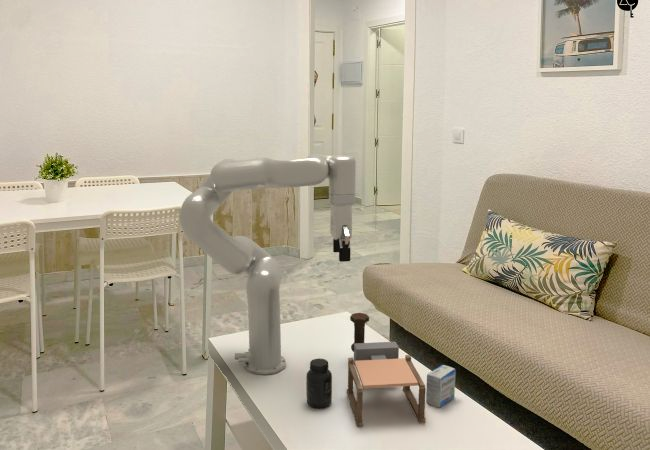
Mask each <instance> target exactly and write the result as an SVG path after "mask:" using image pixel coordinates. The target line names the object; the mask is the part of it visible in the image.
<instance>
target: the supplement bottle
mask: <svg viewBox="0 0 650 450" xmlns="http://www.w3.org/2000/svg"><path fill="white" fill-rule="evenodd" d="M305 379H306V380H305V381H306V382H305V383H306V384H305V385H306V387H305V388H306V405H308V407H310V408H312V409H314V410H324V409H327V408H329V407H330V406H331V405H332V402H333V374H332V371H331V370H330V369H329V361H328V360H327V359H324V358H320V357H319V358H314V359H311V360H310V362H309V370H308V371H307V373H306V377H305Z"/></svg>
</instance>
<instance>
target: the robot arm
mask: <svg viewBox="0 0 650 450" xmlns="http://www.w3.org/2000/svg"><path fill="white" fill-rule="evenodd" d="M356 166H357V164H356V158H355V157H354V156H353V155H352V156H351V155H347V154H346V155H345V154H343V155H342V154H338V155H337V154H336V155H327V154H320V153H313V154H310V155H308V156H307V157H305V158H302V159H301V158H299V159H291V160H286V159H285V160H278V159H272V158H269V157H261V158H250V159H240V160H235V159H233V158H227V159H223V160H221V161H219V162H217V163H216V164H215V165H213V167H212V168H211V170H210V173H209V175H208V177H206V179H205V180H204V181H203V183H202V184H200V186H199V187H198V188H197V189H196V190H194V191H193V192H192V193H191V194H189V195H188V196H187V197H186V198H185V199H184V201H183V202H182V204H181V207H180V211H179V223H180V227H181V230H182V231H183V233H184V234H185V236H186V237H187V238H188V239H189V240H190V241H191V242H192V243H193V244H195V246H197V247H198V248H199V249H201V250H202V251H203V252H204V253H205V254H206V255H208V256H209V257H210V259H212V260H213V261H214V262H216V263H217V264H218V265H219V266H220V267H222V269H224V270H225V271H226V272H228V273H230V274H233V275H241V274H243V273H244V274H246V275H247V279H246V285H245V286H246V287H245V288H246V289H245V290H246V298H247V299H246V300H247V313H248V315H247V316H248V317H247V318H248V339H249V340H248V346H249V347H248V349H247V351H245V352H242V353H241V352H237V353H236V352H235V353H234V361H235V360H236V361H237V360H238V363H244V368H245V369H246V371H248V372H250V373H252V374H255V375H272V374H277V373H279V372H280V371H281V372H282V371H283V370H284V369H285V368H286V366H287V361H286V358H285V357H284V356H282V355H281V354H282V349H281V348H282V346H281V345H282V344H281V343H282V340H281V337H282V335H281V334H282V333H281V303H280V301H281V300H280V287H281V280H282V277H283V269H282V267H281V265H280V263H279V262H278V261H277V259H275V258H274V257H273V256H272V255H270V254H269V253H268V252H267V251H265V250H264V248H262V247H261V246H260V245H259V244H257V242H255V241H254V240H253V239H251V238H249V237H247V236H244V235H236V236H232V235H230V234H229V233H228V232H227V231H226V230H225V229H223V228H222V227H221V226H219V224H216V223H214V222H213V220H212V219H211V217H212V215H214V214H215V213H216V212H217V211H218V209H220V207H221V206H222V204H224V202H225V201H226V200H227V199H228V198H229V197H230V195H232V193H233V192H236V191H238V192H239V191H247V190H255V189H257V190H259V189H267V188H268V189H278V188H279V189H280V188H281V189H282V188H284V189H285V188H301V187H309V186H316V185H320V184H322V183H323V182H325V180H326V179H328V204H329V205H330V223H329V224H330V225H329V233H330V235H331V237H332V238H333V239H332V240H333V241H332V244H333V245H332V250H333V251H332V252H333V253H338V261H339V262H343V263H344V262H350V261H351V241H350V240H351V239H352V234H353V213H352V212H353V211H352V210H353V208H352V206H354V205H356V169H357V167H356Z"/></svg>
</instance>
